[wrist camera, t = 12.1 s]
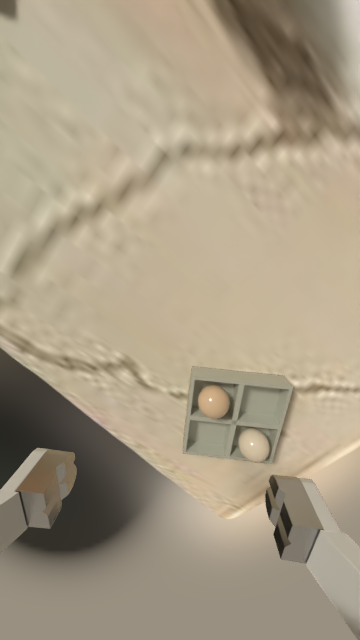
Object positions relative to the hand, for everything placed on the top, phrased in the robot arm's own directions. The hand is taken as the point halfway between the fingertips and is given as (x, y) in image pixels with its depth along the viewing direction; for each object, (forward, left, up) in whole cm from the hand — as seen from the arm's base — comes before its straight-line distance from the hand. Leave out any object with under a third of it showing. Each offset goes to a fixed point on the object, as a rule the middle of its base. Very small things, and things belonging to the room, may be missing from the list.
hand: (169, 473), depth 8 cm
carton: (-9, +16, -24) cm, 30 cm away
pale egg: (-13, +19, -23) cm, 32 cm away
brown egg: (-6, +12, -23) cm, 26 cm away
